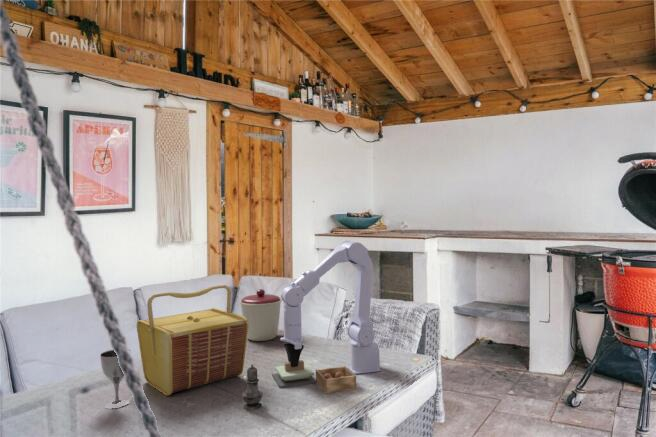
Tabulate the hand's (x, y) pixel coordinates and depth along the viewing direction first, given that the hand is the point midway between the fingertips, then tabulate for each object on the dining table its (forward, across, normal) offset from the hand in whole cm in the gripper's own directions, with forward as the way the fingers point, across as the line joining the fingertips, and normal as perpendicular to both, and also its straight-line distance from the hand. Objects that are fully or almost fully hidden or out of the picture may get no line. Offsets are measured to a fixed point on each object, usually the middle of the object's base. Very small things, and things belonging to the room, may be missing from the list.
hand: (293, 365), depth 162 cm
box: (+5, +10, +11) cm, 16 cm away
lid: (+2, 0, 0) cm, 2 cm away
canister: (+5, -54, -1) cm, 54 cm away
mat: (+5, 0, 0) cm, 5 cm away
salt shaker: (+5, +17, -16) cm, 24 cm away
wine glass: (+5, +2, -53) cm, 53 cm away
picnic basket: (+5, -11, -31) cm, 33 cm away
